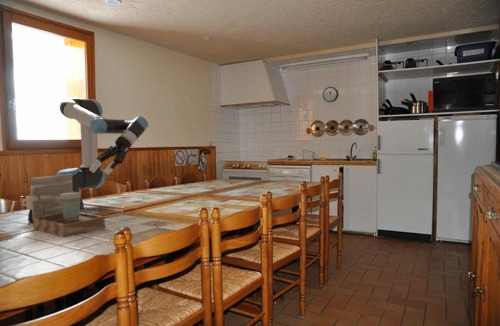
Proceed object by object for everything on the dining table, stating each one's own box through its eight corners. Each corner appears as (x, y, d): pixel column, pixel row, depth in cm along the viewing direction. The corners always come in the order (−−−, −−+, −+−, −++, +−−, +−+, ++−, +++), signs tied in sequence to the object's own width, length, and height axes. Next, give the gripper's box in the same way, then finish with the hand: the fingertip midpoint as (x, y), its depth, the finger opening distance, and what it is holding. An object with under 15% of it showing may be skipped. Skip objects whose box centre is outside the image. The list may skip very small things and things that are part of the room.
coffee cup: (86, 219, 151) (85, 192, 150) (67, 223, 144) (65, 195, 143) (75, 217, 155) (74, 191, 155) (56, 220, 148) (55, 193, 147)
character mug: (50, 219, 169) (49, 193, 169) (44, 222, 162) (43, 196, 162) (27, 220, 168) (25, 194, 167) (20, 224, 161) (18, 197, 160)
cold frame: (33, 229, 150) (30, 177, 149) (72, 221, 165) (70, 174, 164) (64, 237, 136) (61, 180, 135) (105, 227, 151) (102, 176, 150)
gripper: (107, 135, 178) (80, 165, 167) (135, 135, 163) (106, 168, 152) (117, 145, 183) (90, 175, 172) (145, 146, 167) (117, 179, 157)
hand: (98, 172), depth 162 cm, fingers open, 13 cm apart
